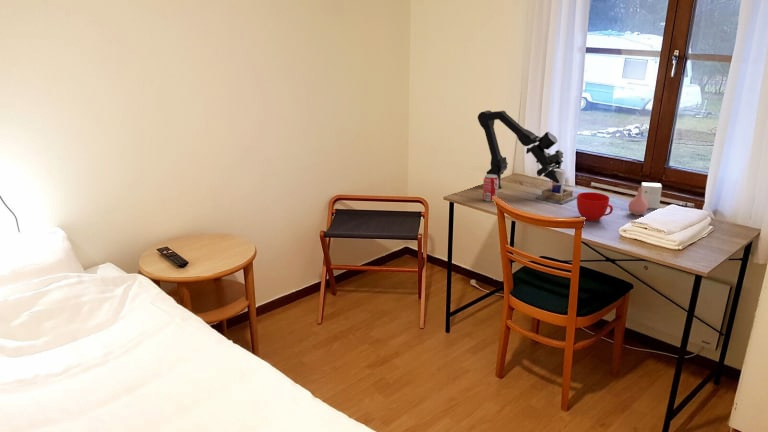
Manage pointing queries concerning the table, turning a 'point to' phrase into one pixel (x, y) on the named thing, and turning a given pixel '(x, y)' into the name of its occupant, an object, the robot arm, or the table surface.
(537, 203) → the table surface
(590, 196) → the ceramic cup
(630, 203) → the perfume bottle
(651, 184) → the small box
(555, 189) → the energy drink
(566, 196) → the keeper collar
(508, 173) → the table surface
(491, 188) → the soda can
